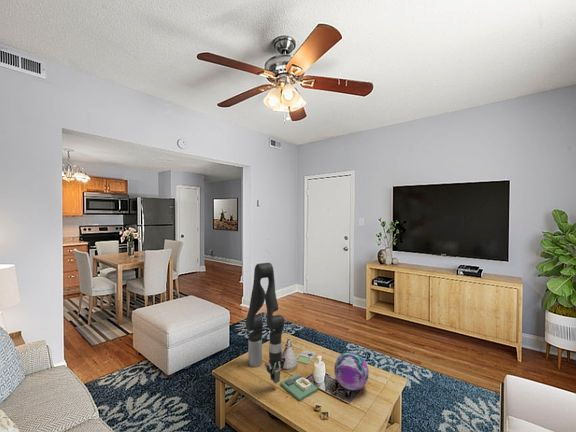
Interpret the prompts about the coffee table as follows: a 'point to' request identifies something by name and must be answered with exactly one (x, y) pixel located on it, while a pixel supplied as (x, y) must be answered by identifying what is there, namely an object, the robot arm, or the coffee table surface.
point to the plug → (276, 375)
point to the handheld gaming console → (305, 357)
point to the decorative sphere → (351, 371)
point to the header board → (299, 387)
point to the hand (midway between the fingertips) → (275, 377)
